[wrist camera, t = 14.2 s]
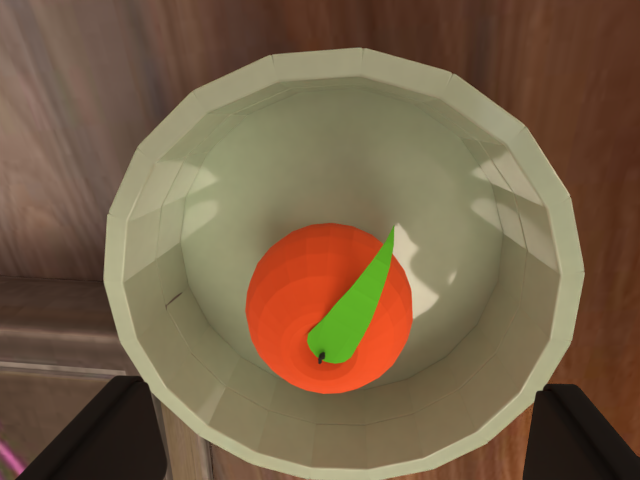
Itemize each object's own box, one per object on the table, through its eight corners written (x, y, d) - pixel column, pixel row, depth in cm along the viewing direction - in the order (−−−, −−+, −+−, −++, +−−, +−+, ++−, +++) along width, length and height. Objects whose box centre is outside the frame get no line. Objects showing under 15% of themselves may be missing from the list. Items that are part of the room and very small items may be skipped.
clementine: (320, 159, 17) (299, 186, 10) (442, 235, 17) (500, 309, 11) (243, 289, 19) (185, 381, 12) (353, 351, 20) (354, 470, 13)
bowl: (536, 57, 15) (633, 24, 10) (495, 395, 21) (544, 489, 15) (139, 86, 17) (45, 71, 12) (201, 391, 22) (155, 475, 17)
